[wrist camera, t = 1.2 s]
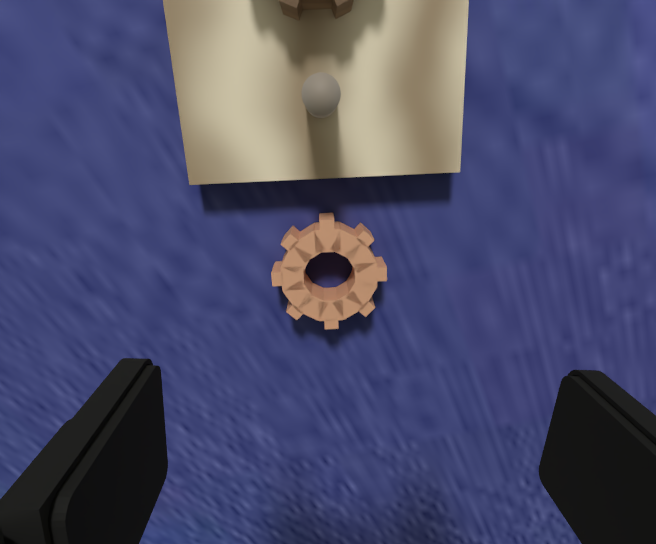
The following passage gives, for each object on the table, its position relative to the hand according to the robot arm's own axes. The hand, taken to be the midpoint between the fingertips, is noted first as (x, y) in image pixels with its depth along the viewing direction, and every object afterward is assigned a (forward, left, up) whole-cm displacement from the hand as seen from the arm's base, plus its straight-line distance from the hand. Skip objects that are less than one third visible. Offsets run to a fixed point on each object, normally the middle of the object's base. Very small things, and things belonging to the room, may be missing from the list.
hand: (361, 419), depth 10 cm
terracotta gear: (+1, +2, -19) cm, 19 cm away
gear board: (+1, -12, -19) cm, 23 cm away
